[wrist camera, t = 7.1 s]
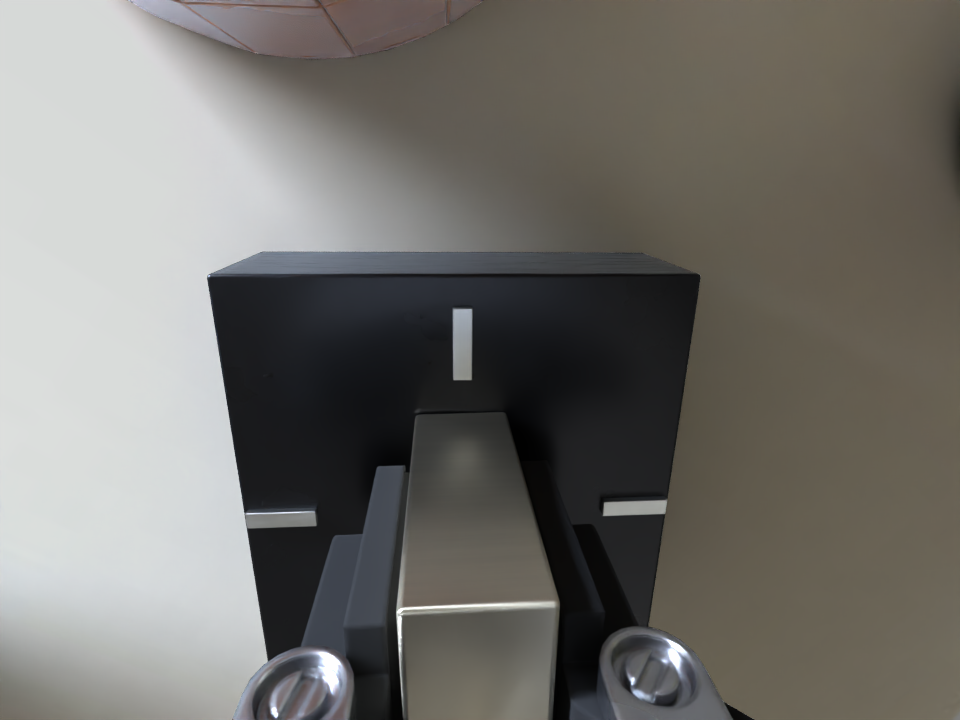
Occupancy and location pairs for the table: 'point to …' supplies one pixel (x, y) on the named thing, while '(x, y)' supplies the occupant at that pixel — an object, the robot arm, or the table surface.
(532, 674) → the hob knob
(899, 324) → the table surface
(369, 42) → the terracotta pot
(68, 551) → the table surface
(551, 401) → the panel
